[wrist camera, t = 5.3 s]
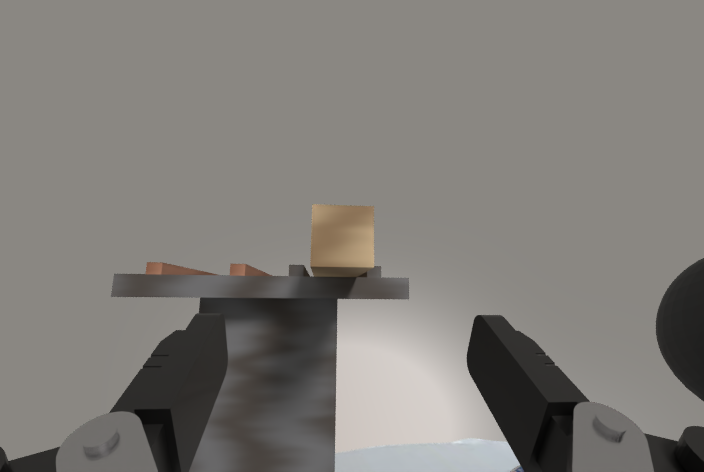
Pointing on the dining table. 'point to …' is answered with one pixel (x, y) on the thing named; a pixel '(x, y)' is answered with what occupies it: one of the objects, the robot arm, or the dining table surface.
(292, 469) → the grey pedestal stand
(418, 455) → the dining table surface
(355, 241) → the oak bar
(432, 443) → the dining table surface
